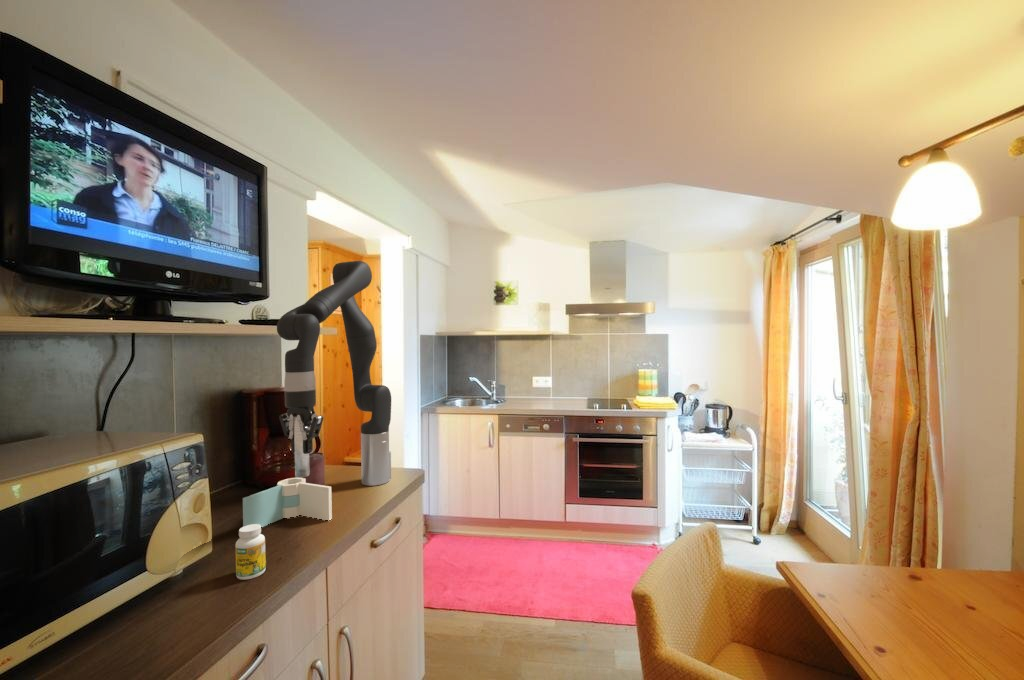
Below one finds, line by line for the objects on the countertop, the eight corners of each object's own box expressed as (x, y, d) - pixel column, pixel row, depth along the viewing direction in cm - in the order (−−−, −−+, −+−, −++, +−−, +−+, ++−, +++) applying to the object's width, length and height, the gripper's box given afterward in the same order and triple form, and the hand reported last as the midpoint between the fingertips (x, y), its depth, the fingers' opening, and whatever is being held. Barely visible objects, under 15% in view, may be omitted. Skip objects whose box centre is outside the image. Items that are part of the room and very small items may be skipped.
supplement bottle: (269, 565, 95) (268, 521, 96) (261, 578, 90) (260, 531, 90) (241, 569, 94) (240, 523, 94) (231, 582, 89) (230, 534, 89)
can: (297, 502, 133) (297, 455, 134) (316, 495, 139) (315, 451, 139) (311, 505, 131) (310, 458, 131) (329, 498, 136) (328, 453, 136)
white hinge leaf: (293, 507, 129) (293, 476, 129) (340, 515, 122) (339, 483, 122) (272, 516, 123) (271, 483, 123) (320, 525, 116) (319, 491, 116)
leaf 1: (293, 507, 129) (293, 476, 129) (311, 510, 127) (310, 479, 127) (235, 531, 113) (234, 496, 113) (254, 536, 110) (253, 500, 110)
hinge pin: (302, 472, 121) (301, 414, 121) (312, 474, 119) (311, 415, 119) (292, 476, 117) (290, 416, 117) (302, 478, 116) (300, 417, 116)
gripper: (331, 387, 119) (332, 451, 119) (292, 386, 124) (293, 447, 125) (309, 391, 112) (310, 458, 112) (268, 389, 117) (270, 454, 118)
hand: (301, 452), depth 118 cm, fingers closed on hinge pin, 3 cm apart
